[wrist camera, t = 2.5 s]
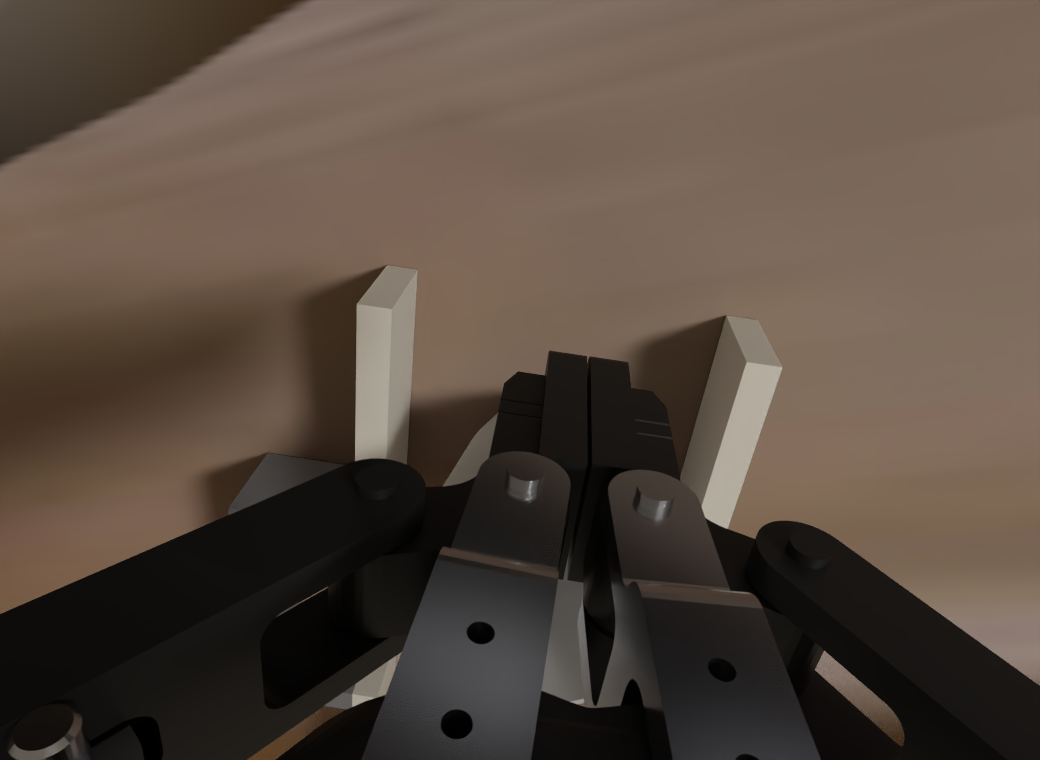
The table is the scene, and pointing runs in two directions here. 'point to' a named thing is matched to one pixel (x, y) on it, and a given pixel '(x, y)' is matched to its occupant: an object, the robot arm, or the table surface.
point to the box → (386, 410)
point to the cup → (564, 637)
